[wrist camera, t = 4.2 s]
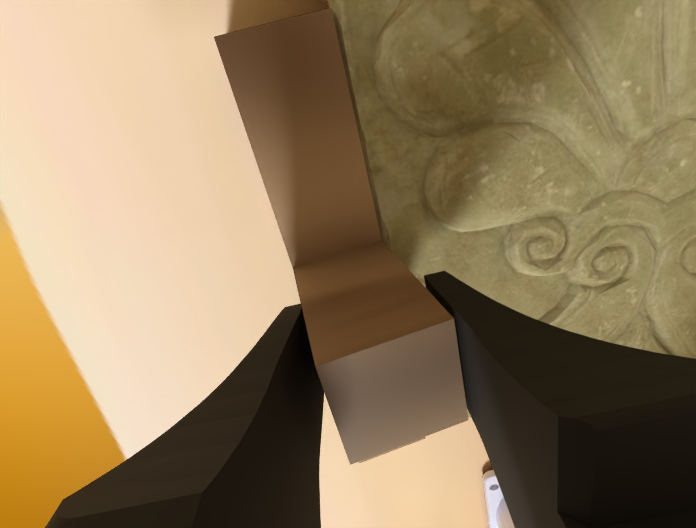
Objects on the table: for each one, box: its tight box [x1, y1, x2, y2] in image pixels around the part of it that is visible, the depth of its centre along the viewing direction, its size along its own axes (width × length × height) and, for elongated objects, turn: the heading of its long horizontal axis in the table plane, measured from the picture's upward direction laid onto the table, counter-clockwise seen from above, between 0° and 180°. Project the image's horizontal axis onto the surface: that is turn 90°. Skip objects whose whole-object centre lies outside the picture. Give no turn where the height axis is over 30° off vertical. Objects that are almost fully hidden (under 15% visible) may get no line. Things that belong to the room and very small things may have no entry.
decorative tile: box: [327, 0, 696, 417], centre depth 13 cm, size 19×20×4 cm
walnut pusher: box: [214, 8, 468, 465], centre depth 12 cm, size 16×3×8 cm, turn 14°
